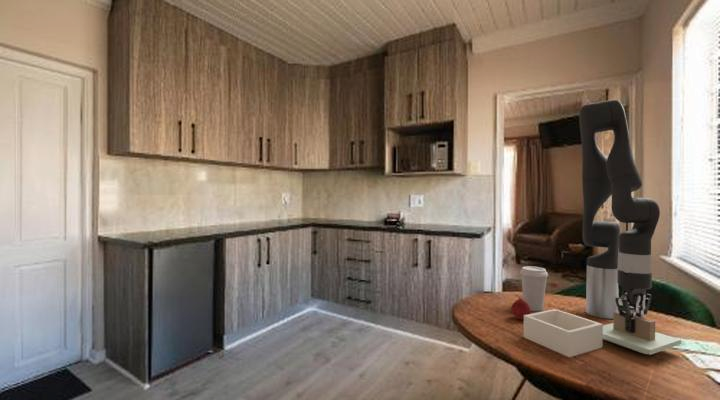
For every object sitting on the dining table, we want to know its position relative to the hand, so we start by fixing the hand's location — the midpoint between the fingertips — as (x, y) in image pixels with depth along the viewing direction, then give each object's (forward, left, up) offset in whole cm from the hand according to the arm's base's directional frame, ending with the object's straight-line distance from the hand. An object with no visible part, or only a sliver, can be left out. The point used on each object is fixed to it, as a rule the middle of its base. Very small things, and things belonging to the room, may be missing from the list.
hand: (633, 330), depth 97 cm
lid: (0, 0, -2) cm, 2 cm away
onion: (+11, -28, -5) cm, 30 cm away
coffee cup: (-4, -35, -5) cm, 36 cm away
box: (+16, -10, -5) cm, 19 cm away
